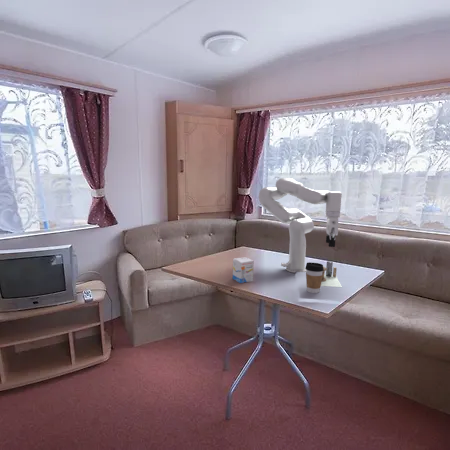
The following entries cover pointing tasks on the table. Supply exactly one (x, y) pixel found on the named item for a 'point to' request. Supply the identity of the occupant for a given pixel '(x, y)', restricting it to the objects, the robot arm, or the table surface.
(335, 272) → the notched rail
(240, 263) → the ink box
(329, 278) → the base board
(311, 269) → the coffee cup
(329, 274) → the peg
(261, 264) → the table surface
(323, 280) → the bobbin
